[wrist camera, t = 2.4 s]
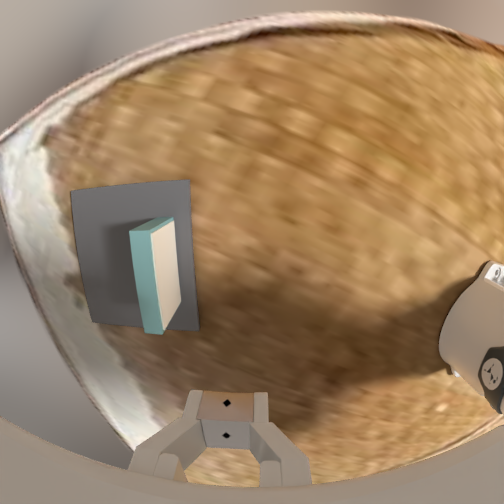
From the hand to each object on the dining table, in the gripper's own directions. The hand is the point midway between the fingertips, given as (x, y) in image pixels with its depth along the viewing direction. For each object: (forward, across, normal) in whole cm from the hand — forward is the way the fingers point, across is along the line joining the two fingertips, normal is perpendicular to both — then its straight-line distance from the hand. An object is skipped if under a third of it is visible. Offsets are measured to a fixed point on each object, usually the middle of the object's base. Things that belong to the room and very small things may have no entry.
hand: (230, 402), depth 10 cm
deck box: (+18, +8, 0) cm, 20 cm away
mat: (+19, +12, 0) cm, 23 cm away
